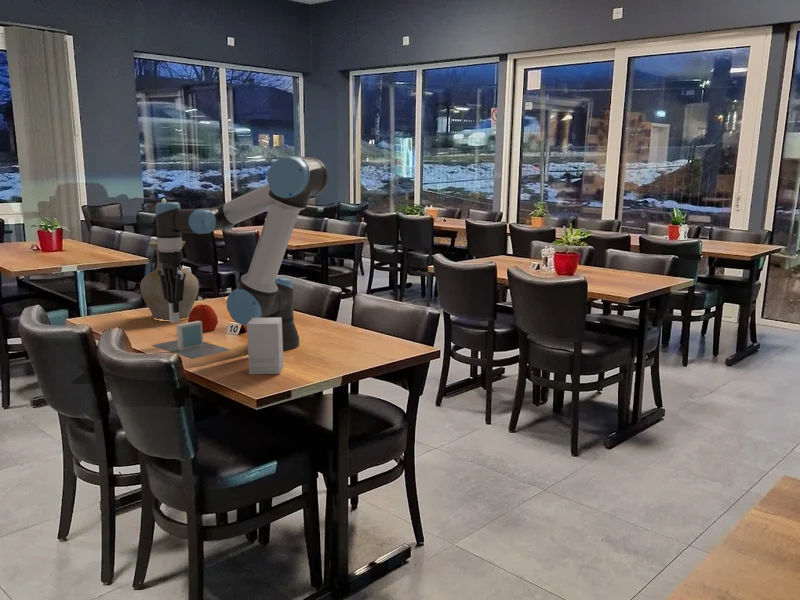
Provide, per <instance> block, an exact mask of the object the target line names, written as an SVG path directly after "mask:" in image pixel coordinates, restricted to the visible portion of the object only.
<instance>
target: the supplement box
mask: <svg viewBox="0 0 800 600" xmlns="http://www.w3.org/2000/svg"><path fill="white" fill-rule="evenodd" d="M246 334H247V335H246V337H247V354H248V355H247V356H248V359H247V360H248V374H249V375H279V374H281V371H282V370H283V368H284V350H283V340H282V318H281V317H280V318H252V319H251V320H250V321H249V322H248V323H247V326H246Z"/></svg>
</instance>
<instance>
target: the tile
mask: <svg viewBox="0 0 800 600" xmlns="http://www.w3.org/2000/svg"><path fill="white" fill-rule="evenodd" d="M175 328H176V340H177V343H178V350H186V349H190V348H195V347H199V346H203V342H204V336H203V333H204V332H203V331H202V322H201V321H195V322H189V323H188V322H183V323H180V324H176V327H175Z"/></svg>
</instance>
